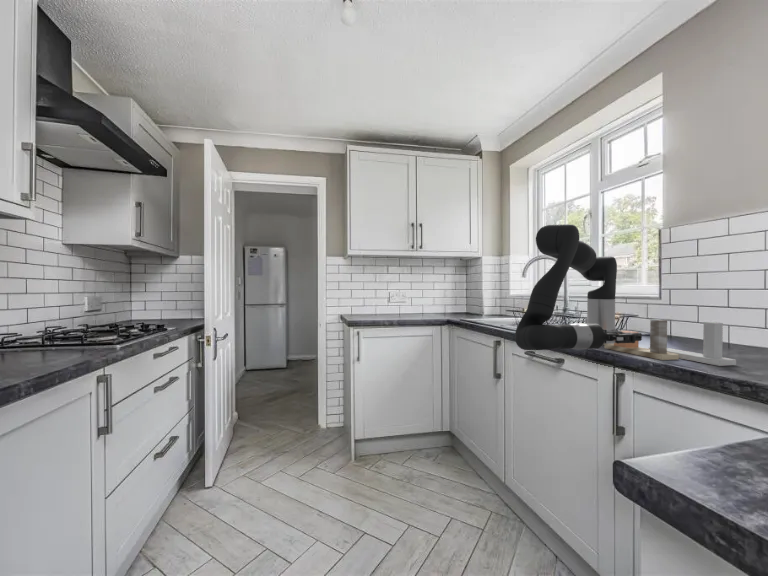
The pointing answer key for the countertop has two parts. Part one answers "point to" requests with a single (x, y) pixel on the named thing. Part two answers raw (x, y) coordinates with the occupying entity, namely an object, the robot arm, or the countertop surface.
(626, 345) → the terracotta cube
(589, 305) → the robot arm
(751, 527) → the countertop surface
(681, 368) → the countertop surface
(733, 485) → the countertop surface
